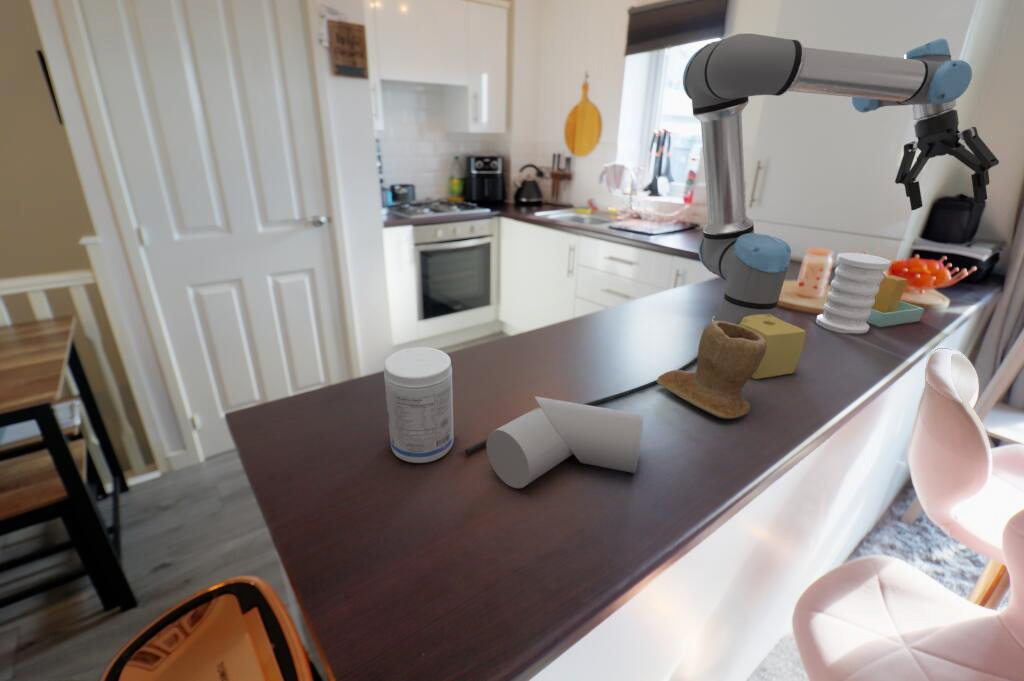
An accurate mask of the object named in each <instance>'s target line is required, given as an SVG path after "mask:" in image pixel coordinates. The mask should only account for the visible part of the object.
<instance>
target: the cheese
mask: <svg viewBox="0 0 1024 681" xmlns="http://www.w3.org/2000/svg"><path fill="white" fill-rule="evenodd" d="M739 325H740V326H743V327H745V328H748V329H750V330H753V331H755V332H757V333H758V334H760V335H761V336H762V337H763V338H764V339H765V341H766V352H765V355H764V357H763V359H762V361H761V363H760V364H759V366H758V368H757V370H756V371H755V373H754V374H753V375H752V376H751V377H750V378H751V379H754V380H759V379H766V378H772V377H773V378H774V377H777V376H778V377H779V376H784V375H791V374H794V372H795V370H796V368H797V366H798V364H799V361H800V358H801V355H802V353H803V350H804V345H805V342H806V334H807V331H806V330H805V329H803V328H801V327H799V326H797V325H794V324H791V323H789V322H786V321H784V320H782V319H780V318H779V317H777V318H776V317H774V316H772V315H770V314H759V315H751V316H746V317H744V318H743V319H742V321H741V323H740V324H739Z"/></svg>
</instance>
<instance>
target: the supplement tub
mask: <svg viewBox="0 0 1024 681" xmlns="http://www.w3.org/2000/svg"><path fill="white" fill-rule="evenodd" d="M383 365H384V366H383V367H384V368H383V369H384V371H383V378H384V386H385V387H384V389H385V390H384V391H385V398H386V399H385V400H386V410H387V420H388V431H389V442H390V448H391V451H392V453H393V455H395V457H397V458H399V459H400V460H402V461H404V462H408V463H412V464H425V463H431V462H434V461H437V460H439V459H441V458H442V457H444V456H446V454H448V453H449V451H450V450H451V449H452V447H453V444H454V398H453V395H454V394H453V392H454V391H453V368H452V360H451V357H450V355H448V354H447V353H446V352H445V351H442V350H440V349H438V348H433V347H424V346H422V347H421V346H420V347H409V348H405V349H401V350H398V351H396V352H394V353H392V354H390V355H389V356H388V357H387V358H386V359H385V360H384V364H383Z"/></svg>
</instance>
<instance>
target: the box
mask: <svg viewBox="0 0 1024 681" xmlns="http://www.w3.org/2000/svg"><path fill="white" fill-rule="evenodd" d="M874 299H875V298H874ZM924 310H925V308H924V307H921V306H918V305H914V304H912V303H908V302H905V301H901V300H900V302H899V305H898V307H897V310H896V312H889V313H882V312H879V311H876V310H874V309H870V312H871V313H870V317H869V318H868V319H867V320H866V323H867V324H871V325H873V326H877V327H879V328H882V327H890V326H896V325H900V324H902V325H903V324H908V323H915V322H920V320H921V318H922V315H923V313H924Z"/></svg>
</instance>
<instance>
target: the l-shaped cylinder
mask: <svg viewBox="0 0 1024 681" xmlns="http://www.w3.org/2000/svg"><path fill="white" fill-rule="evenodd" d="M534 398H535V400H536V402H537V403H538V406H537V407H536V408H533V409H532V410H530V411H528V412H526V413H524V414H522V415H520V416H518V417H516V418H514V419H513V420H511V421H509V422H507V423H505V424H503V425H502V426H499V427H498V428H496V429H494V430H492V431H491V432H490V433H489V434H488V436H487V437H486V439H487V443H486V446H485V448H486V454H487V457H488V461H489V463H490V465H491V467H492V469H493V471H494V472H495V474H496V476H498V478H499V479H500V480H501V481H502V482H503V483H505V484H506V485H508V487H511V488H514V489H522V488H524V487H526V486H527V485H529V484H530V483H532V482H534V481H535V480H536V479H538V478H539V477H541V476H542V475H544V474H546V473H547V472H549V471H550V470H551V469H553V468H554V467H556V466H557V465H559V464H560V463H562V462H564V461H565V460H567V459H568V458H570V457H571V456H572V455H574V456H575V458H576V459H577V460H578V461H579V462H580V463H581V464H585V465H591V466H594V467H601V468H606V469H611V470H616V471H621V472H627V473H632V474H636V472H637V468H638V462H639V457H640V450H641V442H642V434H643V424H644V414H643V413H638V412H631V411H625V410H619V409H614V408H606V407H600V406H597V405H595V406H590V405H584V404H585V403H577V402H571V401H565V400H559V399H554V398H546V397H541V396H534Z"/></svg>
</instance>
